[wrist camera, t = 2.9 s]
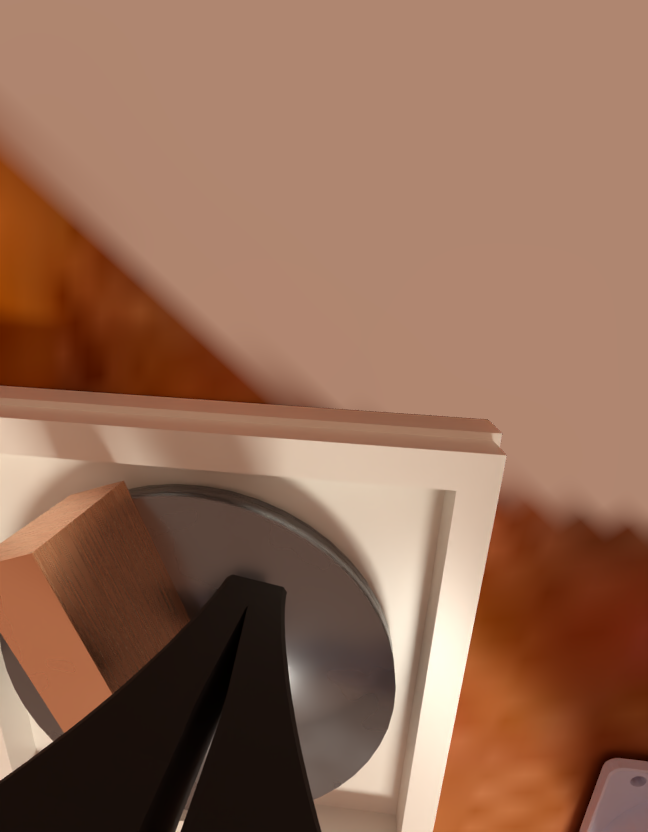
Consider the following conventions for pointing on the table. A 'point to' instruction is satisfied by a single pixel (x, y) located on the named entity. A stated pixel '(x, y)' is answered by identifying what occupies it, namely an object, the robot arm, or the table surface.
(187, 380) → the table surface
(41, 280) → the table surface
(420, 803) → the dial plate
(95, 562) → the dial
